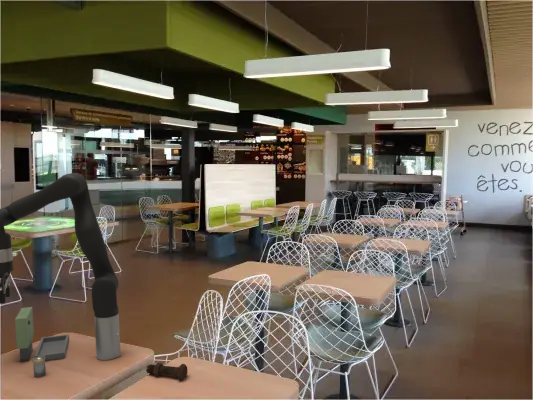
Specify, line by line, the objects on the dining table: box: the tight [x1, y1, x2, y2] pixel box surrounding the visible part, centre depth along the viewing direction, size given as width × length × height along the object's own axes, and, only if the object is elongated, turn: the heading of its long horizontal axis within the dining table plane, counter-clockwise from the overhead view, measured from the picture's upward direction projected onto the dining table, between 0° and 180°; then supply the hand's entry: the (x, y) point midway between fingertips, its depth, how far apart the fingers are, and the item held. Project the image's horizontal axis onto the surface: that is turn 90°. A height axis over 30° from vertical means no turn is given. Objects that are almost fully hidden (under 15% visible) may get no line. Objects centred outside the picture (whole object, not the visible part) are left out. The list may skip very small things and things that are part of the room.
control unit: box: [14, 306, 35, 363], centre depth 186 cm, size 5×14×18 cm, turn 19°
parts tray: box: [34, 334, 70, 362], centre depth 192 cm, size 11×20×2 cm, turn 19°
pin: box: [32, 355, 47, 379], centre depth 170 cm, size 4×4×7 cm
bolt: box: [145, 362, 188, 382], centre depth 169 cm, size 6×5×15 cm
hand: (4, 299), depth 183 cm, fingers open, 8 cm apart
